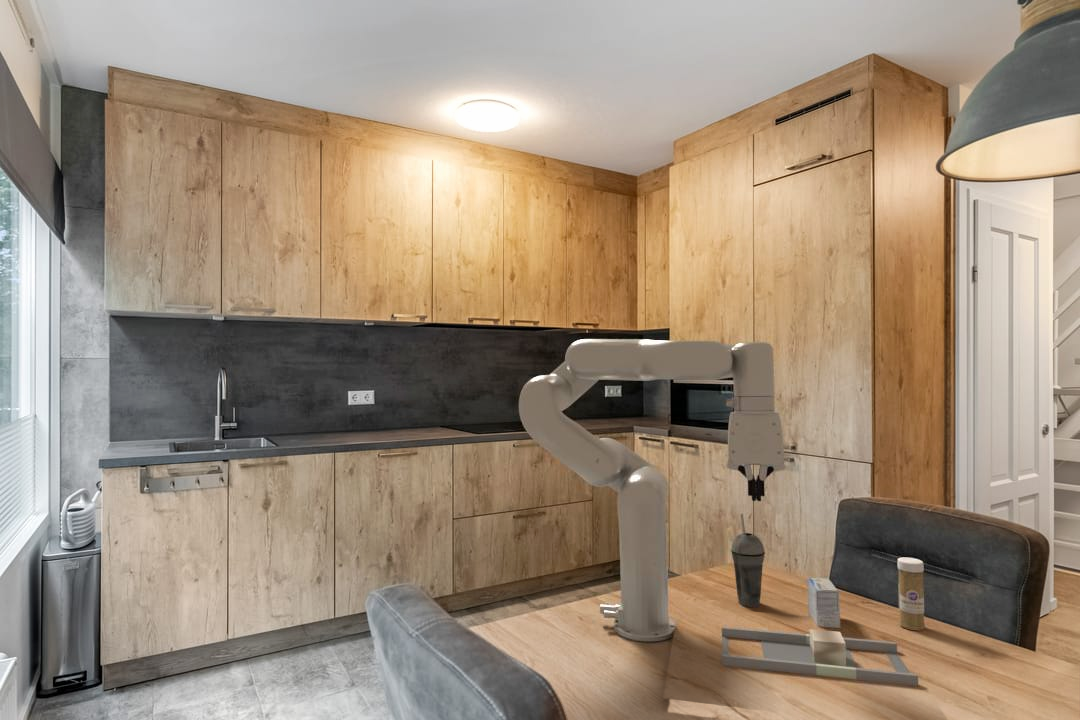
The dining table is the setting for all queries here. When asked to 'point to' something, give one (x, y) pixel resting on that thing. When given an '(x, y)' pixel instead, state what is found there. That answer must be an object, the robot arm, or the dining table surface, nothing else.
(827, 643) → the cream block
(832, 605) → the medicine box
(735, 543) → the beverage cup
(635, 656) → the dining table surface
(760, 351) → the robot arm
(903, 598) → the sprinkles bottle
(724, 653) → the track
